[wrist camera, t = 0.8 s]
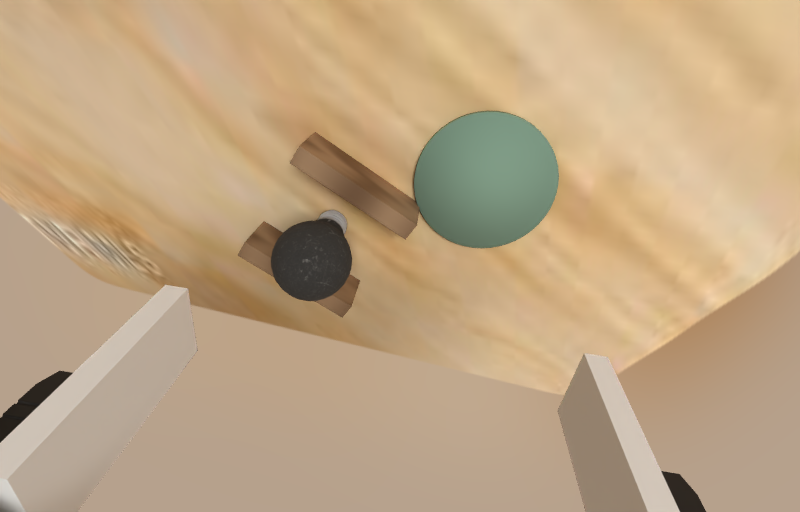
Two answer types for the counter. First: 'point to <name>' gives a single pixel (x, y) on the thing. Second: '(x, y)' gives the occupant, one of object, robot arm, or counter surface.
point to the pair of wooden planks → (350, 185)
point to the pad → (486, 179)
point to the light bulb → (313, 257)
